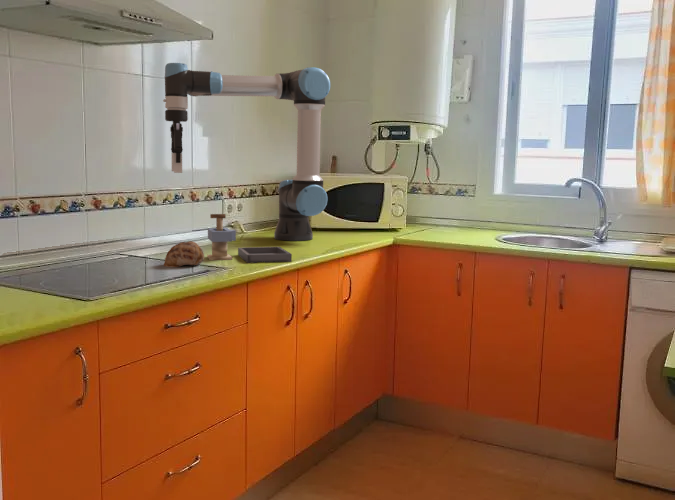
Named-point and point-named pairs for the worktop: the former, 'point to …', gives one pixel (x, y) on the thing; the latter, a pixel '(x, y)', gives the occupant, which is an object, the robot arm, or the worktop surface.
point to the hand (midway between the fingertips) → (176, 172)
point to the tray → (264, 254)
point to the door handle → (219, 247)
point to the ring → (221, 235)
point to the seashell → (184, 255)
